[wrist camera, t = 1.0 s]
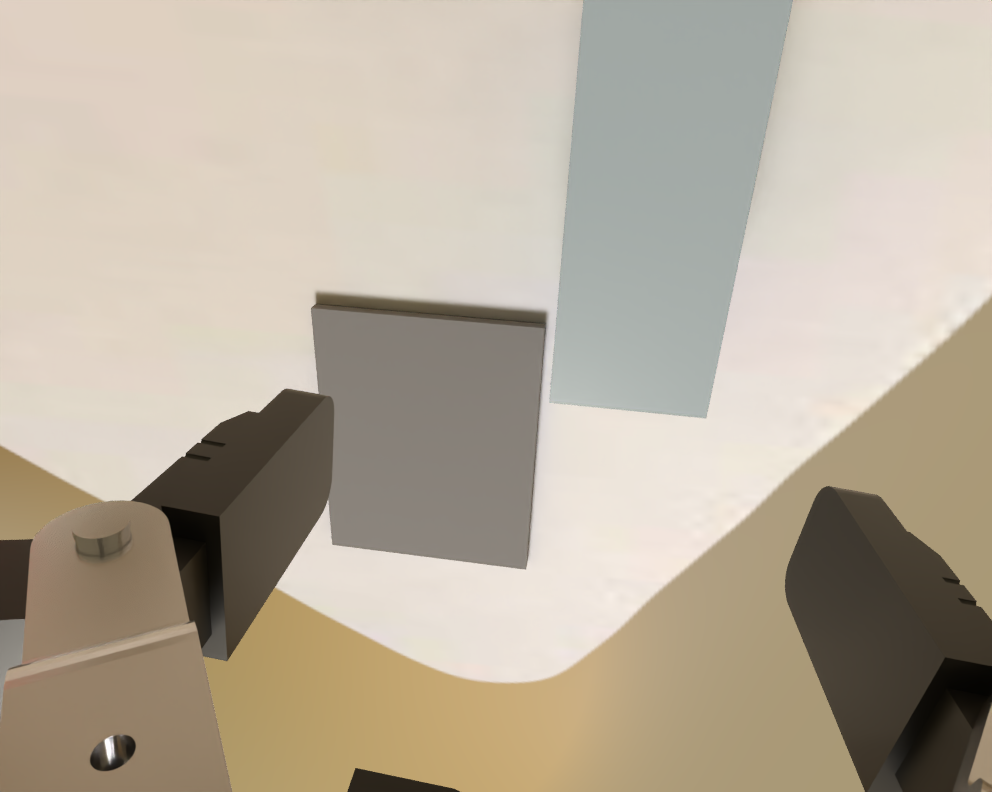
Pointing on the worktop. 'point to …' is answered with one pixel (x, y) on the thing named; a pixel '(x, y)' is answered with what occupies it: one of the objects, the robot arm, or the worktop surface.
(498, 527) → the mat
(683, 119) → the cover
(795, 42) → the worktop surface
